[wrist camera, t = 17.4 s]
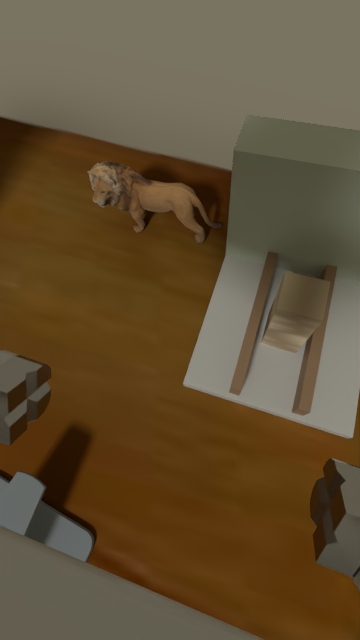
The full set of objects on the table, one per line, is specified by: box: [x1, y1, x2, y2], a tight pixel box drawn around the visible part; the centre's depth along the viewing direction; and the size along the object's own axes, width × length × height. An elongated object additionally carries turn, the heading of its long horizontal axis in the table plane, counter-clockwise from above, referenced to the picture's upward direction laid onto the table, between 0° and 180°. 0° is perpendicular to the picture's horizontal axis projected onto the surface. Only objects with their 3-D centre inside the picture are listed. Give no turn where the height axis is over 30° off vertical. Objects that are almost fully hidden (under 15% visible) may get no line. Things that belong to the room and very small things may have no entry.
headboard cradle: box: [183, 115, 360, 438], centre depth 28 cm, size 16×20×15 cm
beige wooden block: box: [261, 271, 330, 353], centre depth 29 cm, size 4×4×8 cm
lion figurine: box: [87, 162, 221, 243], centre depth 37 cm, size 15×5×9 cm, turn 83°
